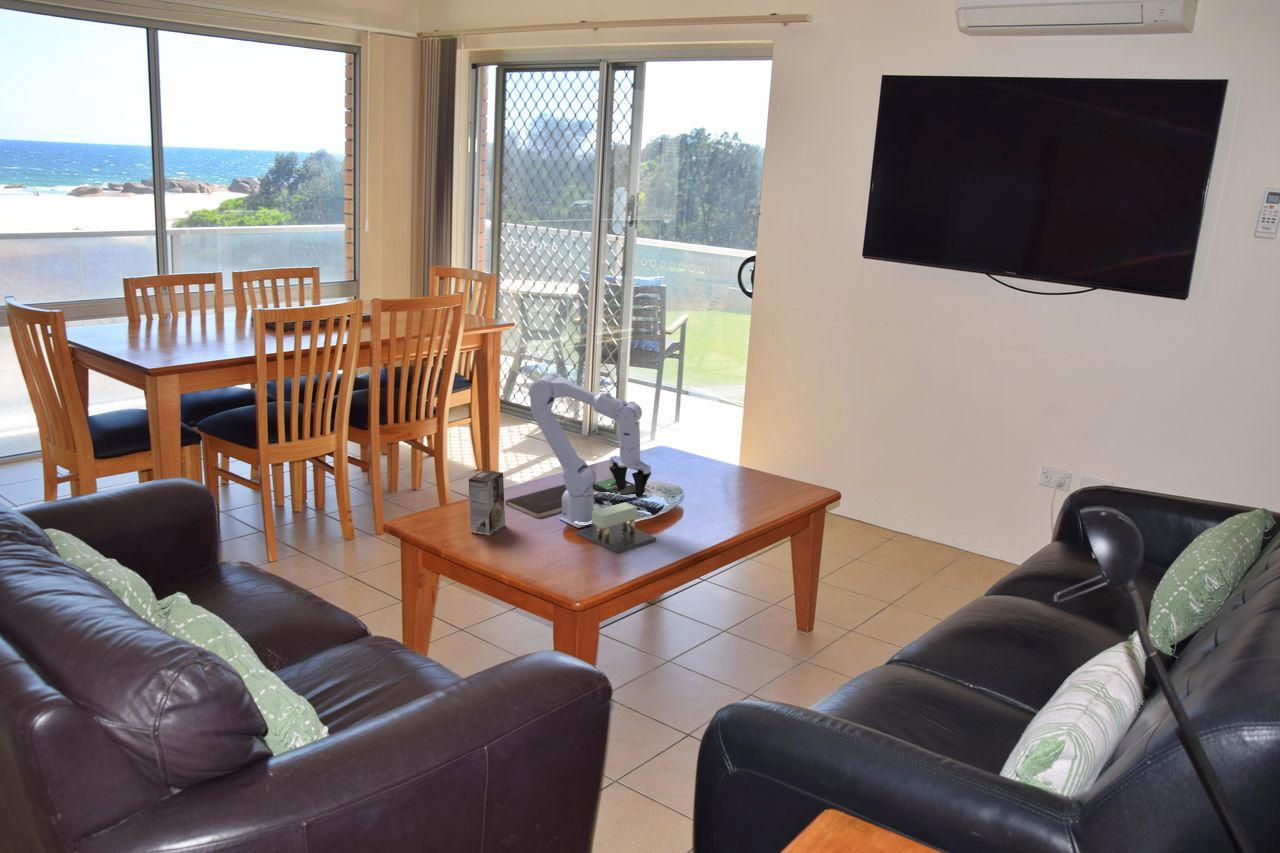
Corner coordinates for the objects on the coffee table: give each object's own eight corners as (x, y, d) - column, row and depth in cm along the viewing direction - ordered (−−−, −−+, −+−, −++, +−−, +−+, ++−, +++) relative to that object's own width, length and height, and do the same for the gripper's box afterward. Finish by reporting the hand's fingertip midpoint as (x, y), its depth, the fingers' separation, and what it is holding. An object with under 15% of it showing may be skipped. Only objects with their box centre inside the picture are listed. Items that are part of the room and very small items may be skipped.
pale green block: (591, 523, 283) (591, 511, 282) (625, 513, 290) (625, 502, 289) (603, 528, 279) (603, 516, 278) (637, 518, 287) (637, 506, 286)
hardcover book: (598, 502, 316) (597, 495, 315) (537, 520, 301) (537, 512, 300) (565, 490, 327) (565, 483, 327) (505, 506, 312) (505, 499, 312)
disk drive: (645, 497, 321) (618, 484, 333) (645, 488, 321) (618, 476, 332) (618, 503, 315) (591, 490, 327) (618, 495, 315) (591, 482, 326)
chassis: (576, 534, 289) (576, 517, 287) (615, 523, 297) (615, 506, 296) (616, 553, 275) (616, 535, 274) (656, 540, 284) (656, 523, 283)
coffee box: (486, 522, 297) (484, 469, 293) (505, 525, 295) (504, 471, 291) (469, 533, 289) (467, 478, 285) (490, 536, 287) (488, 481, 283)
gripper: (601, 444, 290) (602, 490, 294) (637, 454, 280) (637, 501, 284) (620, 439, 295) (621, 484, 299) (655, 449, 285) (656, 495, 288)
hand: (630, 492), depth 291 cm, fingers open, 7 cm apart
